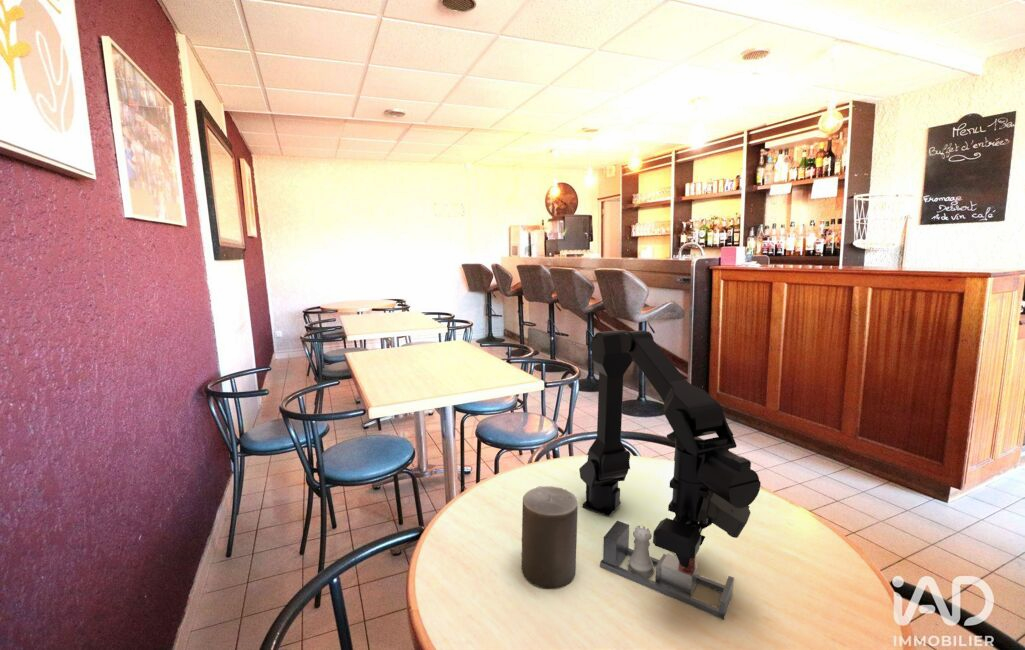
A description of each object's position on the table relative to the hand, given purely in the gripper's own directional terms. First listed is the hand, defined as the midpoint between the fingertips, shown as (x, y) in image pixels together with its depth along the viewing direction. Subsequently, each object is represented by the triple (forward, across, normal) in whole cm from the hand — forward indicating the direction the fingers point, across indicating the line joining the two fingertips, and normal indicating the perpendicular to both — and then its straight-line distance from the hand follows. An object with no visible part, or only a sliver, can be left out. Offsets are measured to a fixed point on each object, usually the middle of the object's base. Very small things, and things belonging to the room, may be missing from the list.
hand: (687, 561), depth 78 cm
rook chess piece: (+5, 0, +8) cm, 9 cm away
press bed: (+5, 0, +4) cm, 6 cm away
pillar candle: (+5, -9, +21) cm, 24 cm away
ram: (+5, 0, +1) cm, 5 cm away
